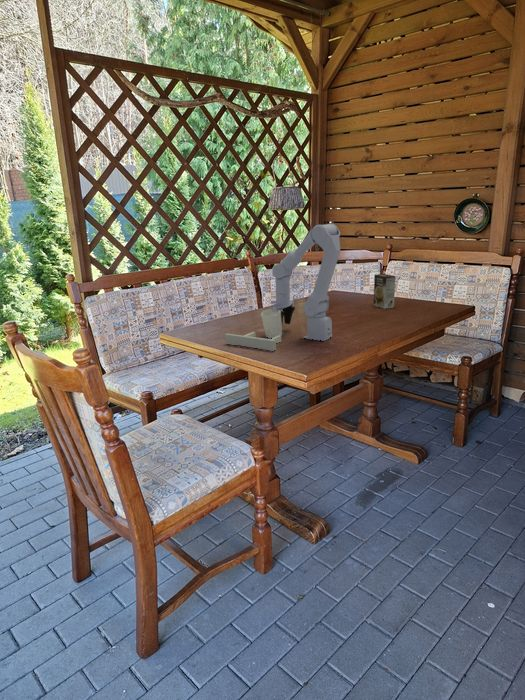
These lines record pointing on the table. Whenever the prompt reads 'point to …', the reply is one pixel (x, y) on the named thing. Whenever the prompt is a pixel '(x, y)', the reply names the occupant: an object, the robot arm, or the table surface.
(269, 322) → the white cup
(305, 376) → the table surface
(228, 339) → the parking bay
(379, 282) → the coffee box
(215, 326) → the table surface
